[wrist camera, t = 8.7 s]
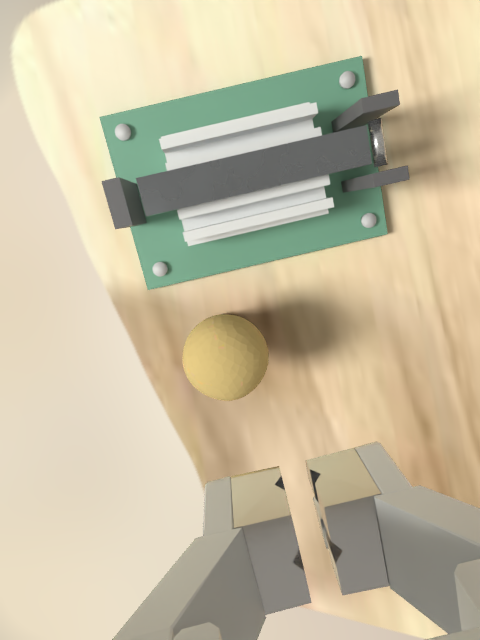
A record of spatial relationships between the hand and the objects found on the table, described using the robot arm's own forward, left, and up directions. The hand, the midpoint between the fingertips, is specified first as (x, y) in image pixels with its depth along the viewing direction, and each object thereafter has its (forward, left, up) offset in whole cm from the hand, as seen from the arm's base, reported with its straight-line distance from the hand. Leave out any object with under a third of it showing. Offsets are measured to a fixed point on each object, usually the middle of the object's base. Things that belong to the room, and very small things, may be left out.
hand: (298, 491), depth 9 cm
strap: (+2, -8, -24) cm, 26 cm away
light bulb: (-1, +5, -31) cm, 32 cm away
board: (+2, -8, -31) cm, 32 cm away
